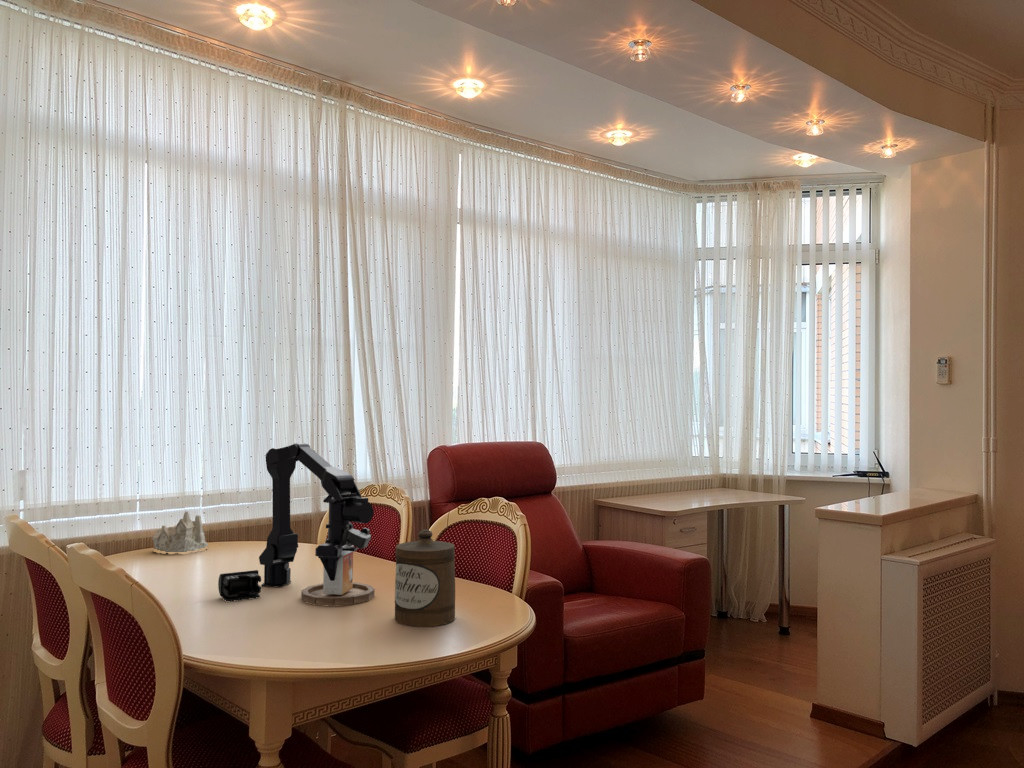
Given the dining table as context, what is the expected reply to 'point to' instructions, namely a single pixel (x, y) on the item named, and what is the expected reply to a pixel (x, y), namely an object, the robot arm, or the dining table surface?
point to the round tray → (350, 597)
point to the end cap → (239, 585)
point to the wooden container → (425, 582)
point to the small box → (340, 576)
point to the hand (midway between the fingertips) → (338, 577)
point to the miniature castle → (181, 536)
